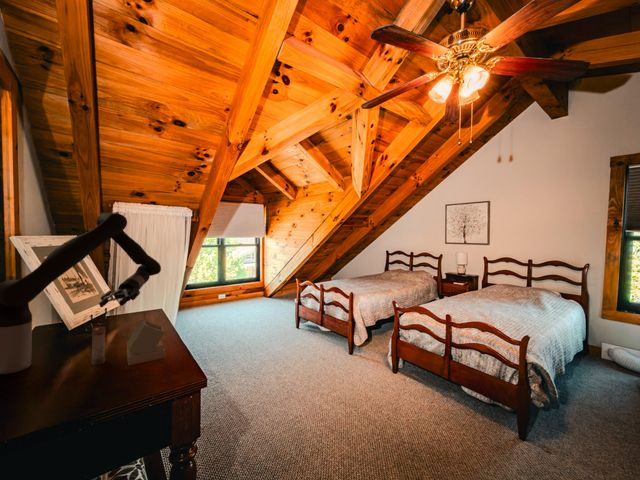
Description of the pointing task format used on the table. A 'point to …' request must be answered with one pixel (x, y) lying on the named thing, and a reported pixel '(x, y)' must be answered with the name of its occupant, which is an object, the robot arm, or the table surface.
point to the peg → (98, 345)
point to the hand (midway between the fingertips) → (110, 304)
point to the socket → (146, 343)
